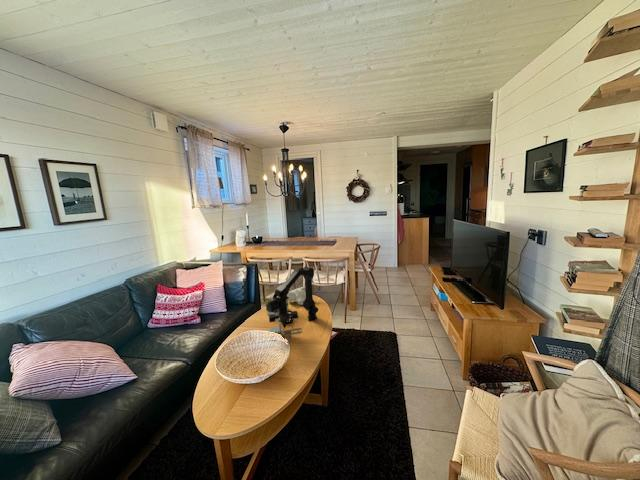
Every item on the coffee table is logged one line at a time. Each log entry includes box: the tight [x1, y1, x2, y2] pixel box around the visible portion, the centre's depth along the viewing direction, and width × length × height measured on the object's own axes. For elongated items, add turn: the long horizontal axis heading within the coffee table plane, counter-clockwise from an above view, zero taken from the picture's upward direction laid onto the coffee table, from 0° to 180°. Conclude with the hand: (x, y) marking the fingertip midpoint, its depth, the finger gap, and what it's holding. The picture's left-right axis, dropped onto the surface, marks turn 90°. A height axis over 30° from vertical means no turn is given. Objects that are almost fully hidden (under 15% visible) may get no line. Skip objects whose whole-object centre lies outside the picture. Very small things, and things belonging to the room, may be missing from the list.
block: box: [283, 330, 293, 343], centre depth 164 cm, size 4×4×5 cm
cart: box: [268, 321, 282, 334], centre depth 171 cm, size 6×8×7 cm
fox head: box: [287, 286, 306, 306], centre depth 215 cm, size 13×17×20 cm
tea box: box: [264, 291, 290, 316], centre depth 201 cm, size 15×10×15 cm
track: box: [281, 327, 303, 336], centre depth 173 cm, size 8×21×1 cm, turn 100°
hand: (284, 327), depth 172 cm, fingers closed
